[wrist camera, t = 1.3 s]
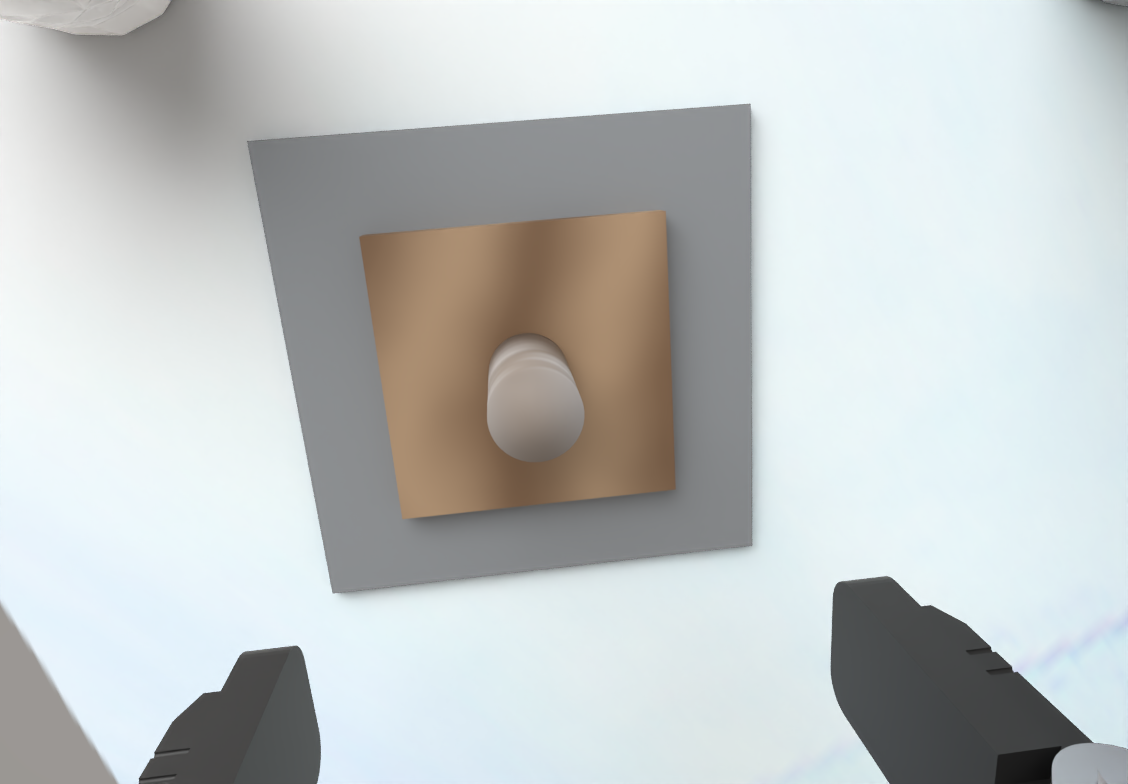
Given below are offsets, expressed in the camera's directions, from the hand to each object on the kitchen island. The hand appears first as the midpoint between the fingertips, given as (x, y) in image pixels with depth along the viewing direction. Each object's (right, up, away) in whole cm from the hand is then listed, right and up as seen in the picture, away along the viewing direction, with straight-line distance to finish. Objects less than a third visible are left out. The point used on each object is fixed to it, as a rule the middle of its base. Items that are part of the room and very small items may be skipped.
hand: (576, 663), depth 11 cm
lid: (-2, +5, +18) cm, 19 cm away
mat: (-2, +5, +18) cm, 19 cm away
